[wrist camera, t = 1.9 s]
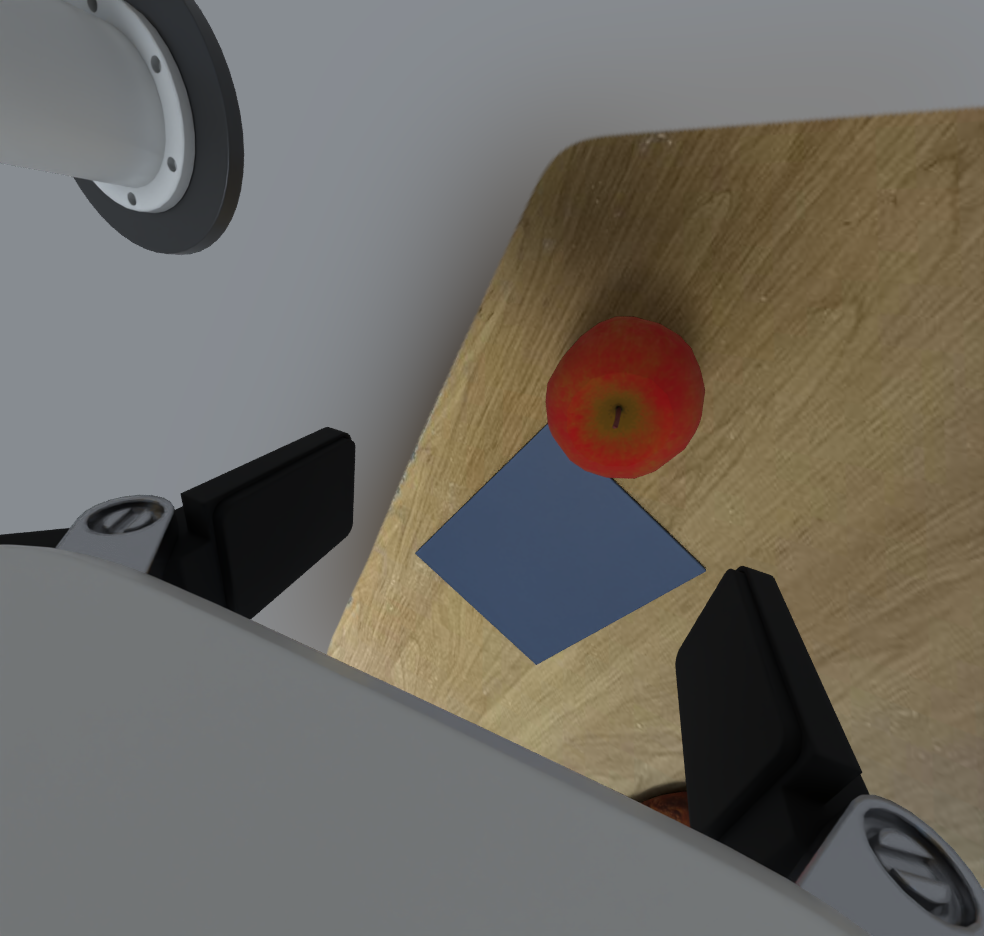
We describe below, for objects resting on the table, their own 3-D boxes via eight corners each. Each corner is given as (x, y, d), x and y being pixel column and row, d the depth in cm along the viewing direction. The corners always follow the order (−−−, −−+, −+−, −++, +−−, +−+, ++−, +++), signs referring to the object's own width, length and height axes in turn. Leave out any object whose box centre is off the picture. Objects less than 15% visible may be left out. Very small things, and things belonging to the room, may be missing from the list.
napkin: (416, 551, 41) (414, 553, 41) (551, 419, 31) (550, 420, 31) (536, 662, 42) (536, 665, 42) (705, 568, 32) (706, 571, 32)
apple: (583, 298, 27) (553, 307, 18) (715, 327, 26) (759, 353, 16) (552, 417, 31) (514, 475, 22) (664, 449, 29) (676, 526, 20)
